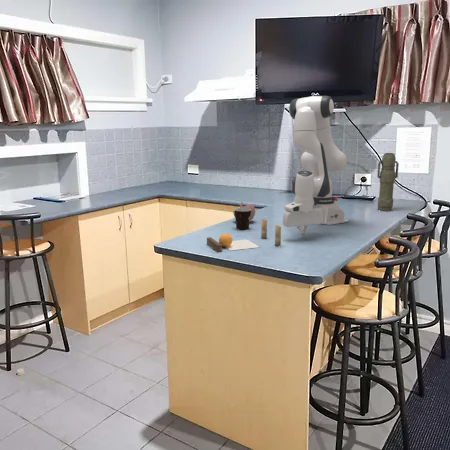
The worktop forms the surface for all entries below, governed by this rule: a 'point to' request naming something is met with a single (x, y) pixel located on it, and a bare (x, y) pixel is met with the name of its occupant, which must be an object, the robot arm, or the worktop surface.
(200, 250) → the worktop surface
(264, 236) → the post
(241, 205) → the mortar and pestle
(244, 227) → the coffee mug
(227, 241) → the ball
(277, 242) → the post
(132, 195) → the worktop surface
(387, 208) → the thermos
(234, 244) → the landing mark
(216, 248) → the stopper wall
